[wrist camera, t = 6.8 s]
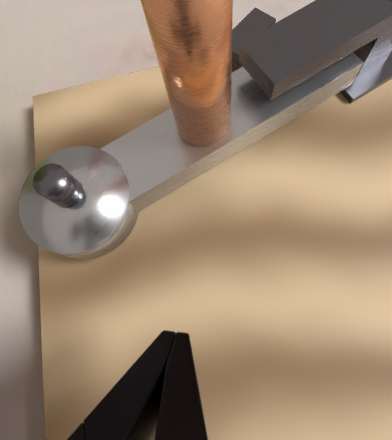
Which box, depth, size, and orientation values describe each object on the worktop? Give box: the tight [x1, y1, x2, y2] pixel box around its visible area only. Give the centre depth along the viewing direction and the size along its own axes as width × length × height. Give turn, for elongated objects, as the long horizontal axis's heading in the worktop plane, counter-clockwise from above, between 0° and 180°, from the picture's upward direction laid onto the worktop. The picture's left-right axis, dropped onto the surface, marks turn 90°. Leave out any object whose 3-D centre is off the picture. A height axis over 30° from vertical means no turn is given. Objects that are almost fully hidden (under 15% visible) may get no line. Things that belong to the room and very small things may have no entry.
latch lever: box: [18, 0, 364, 260], centre depth 11 cm, size 18×5×12 cm, turn 121°
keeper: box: [232, 0, 392, 103], centre depth 16 cm, size 9×7×5 cm
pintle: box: [33, 163, 84, 208], centre depth 14 cm, size 4×4×5 cm
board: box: [33, 66, 392, 440], centre depth 16 cm, size 25×22×1 cm
